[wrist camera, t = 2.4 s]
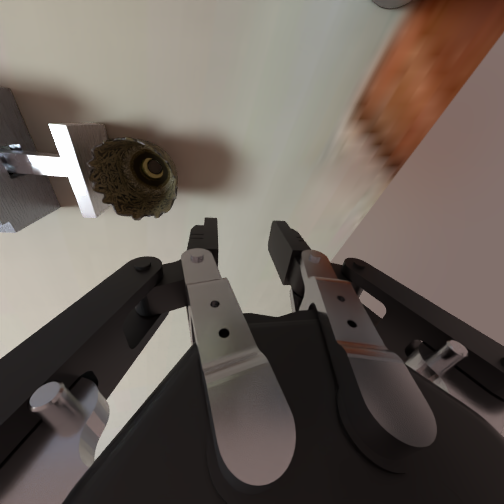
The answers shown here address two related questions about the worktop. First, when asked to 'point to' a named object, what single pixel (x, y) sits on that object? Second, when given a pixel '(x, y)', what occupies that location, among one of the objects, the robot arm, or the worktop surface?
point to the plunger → (65, 162)
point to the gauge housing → (20, 174)
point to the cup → (133, 177)
